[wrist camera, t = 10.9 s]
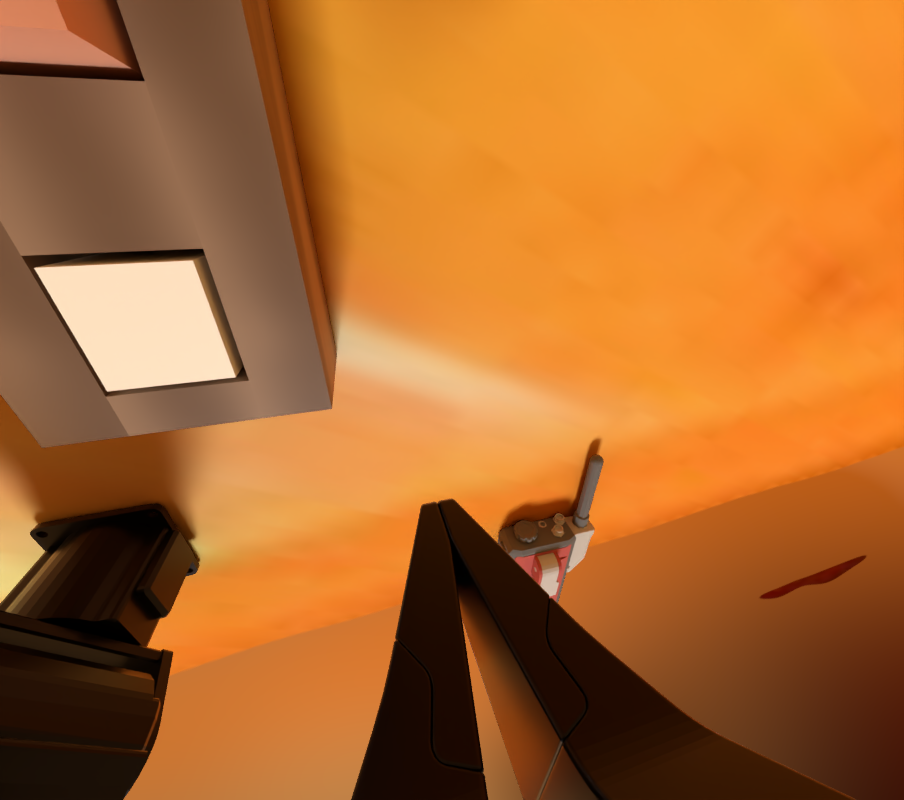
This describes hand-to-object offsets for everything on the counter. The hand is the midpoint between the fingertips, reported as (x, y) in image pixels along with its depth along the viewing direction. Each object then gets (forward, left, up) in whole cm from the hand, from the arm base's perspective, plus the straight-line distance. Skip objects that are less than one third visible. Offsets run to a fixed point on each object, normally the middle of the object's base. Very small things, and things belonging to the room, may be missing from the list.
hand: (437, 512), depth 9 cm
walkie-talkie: (+12, -21, -14) cm, 28 cm away
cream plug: (-8, +4, -13) cm, 15 cm away
